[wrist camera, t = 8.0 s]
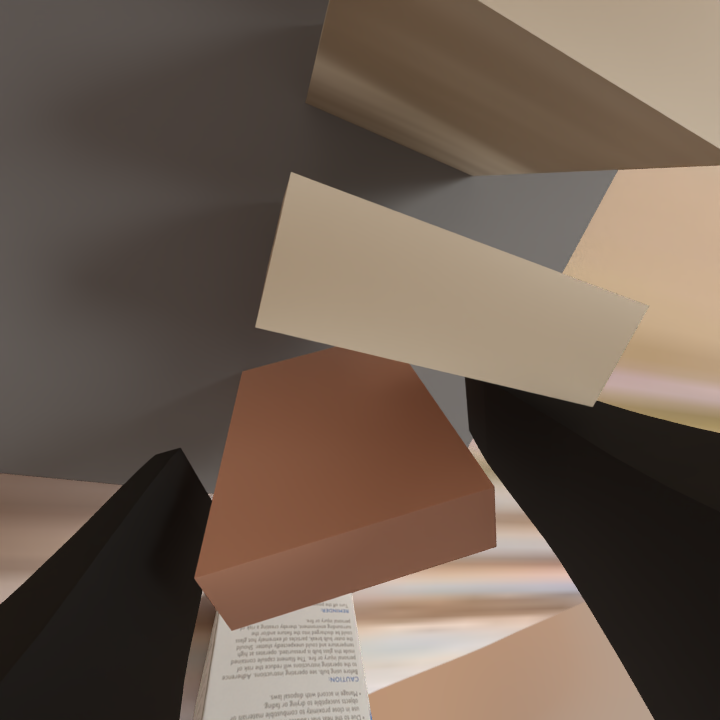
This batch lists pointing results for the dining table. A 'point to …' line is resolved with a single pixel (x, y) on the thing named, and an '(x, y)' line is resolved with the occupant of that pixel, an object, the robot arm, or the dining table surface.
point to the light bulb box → (286, 668)
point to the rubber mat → (189, 220)
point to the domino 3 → (336, 486)
